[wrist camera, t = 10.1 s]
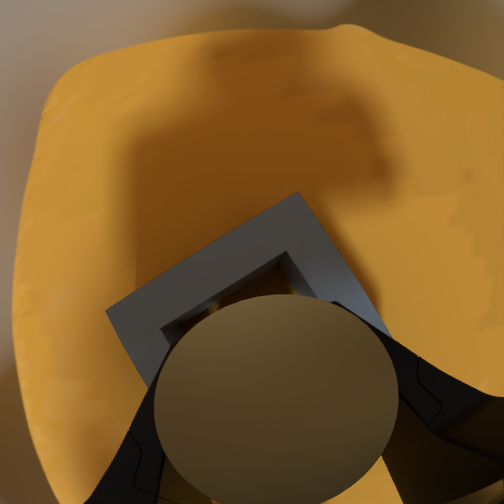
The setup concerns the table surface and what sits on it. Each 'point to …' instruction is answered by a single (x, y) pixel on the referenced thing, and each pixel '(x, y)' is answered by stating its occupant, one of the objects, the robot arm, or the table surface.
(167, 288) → the socket block
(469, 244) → the table surface
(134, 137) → the table surface
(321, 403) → the walnut pin
